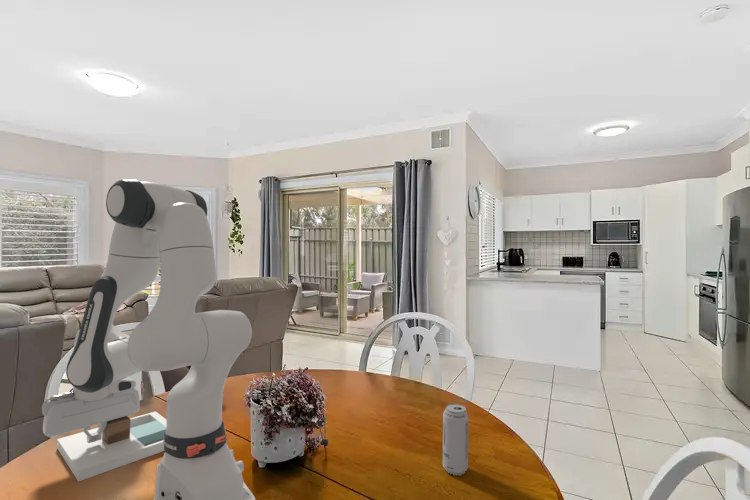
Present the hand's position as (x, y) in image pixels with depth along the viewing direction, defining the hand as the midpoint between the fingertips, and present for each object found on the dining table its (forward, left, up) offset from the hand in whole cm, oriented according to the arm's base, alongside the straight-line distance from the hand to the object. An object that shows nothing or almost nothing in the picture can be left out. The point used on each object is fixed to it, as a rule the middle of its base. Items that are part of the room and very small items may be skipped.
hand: (94, 440), depth 101 cm
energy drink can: (-72, -56, -4) cm, 92 cm away
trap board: (0, -6, -4) cm, 7 cm away
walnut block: (0, -5, -1) cm, 5 cm away
